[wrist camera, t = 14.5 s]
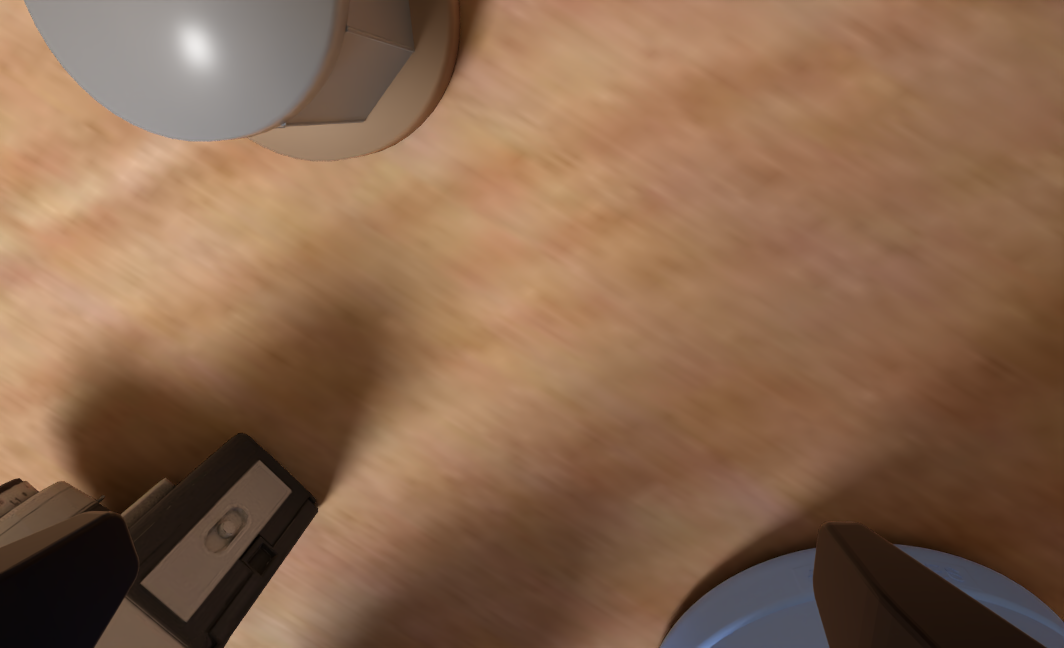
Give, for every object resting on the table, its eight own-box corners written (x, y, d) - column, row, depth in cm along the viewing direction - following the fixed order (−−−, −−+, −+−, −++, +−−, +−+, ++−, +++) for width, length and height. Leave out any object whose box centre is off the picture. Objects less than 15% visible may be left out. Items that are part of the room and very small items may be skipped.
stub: (472, 149, 18) (424, 165, 13) (233, 164, 18) (100, 184, 13) (444, -162, 15) (368, -296, 10) (168, -127, 16) (-27, -235, 11)
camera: (166, 351, 21) (-175, 542, 12) (330, 507, 23) (144, 784, 13) (-22, 537, 25) (-386, 788, 16) (128, 658, 27) (-122, 950, 18)
